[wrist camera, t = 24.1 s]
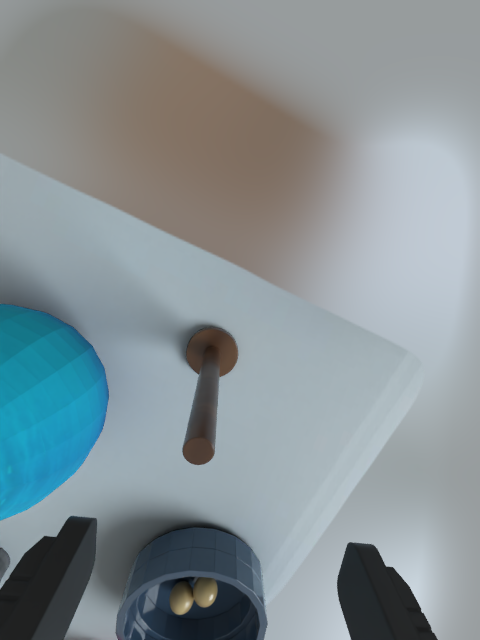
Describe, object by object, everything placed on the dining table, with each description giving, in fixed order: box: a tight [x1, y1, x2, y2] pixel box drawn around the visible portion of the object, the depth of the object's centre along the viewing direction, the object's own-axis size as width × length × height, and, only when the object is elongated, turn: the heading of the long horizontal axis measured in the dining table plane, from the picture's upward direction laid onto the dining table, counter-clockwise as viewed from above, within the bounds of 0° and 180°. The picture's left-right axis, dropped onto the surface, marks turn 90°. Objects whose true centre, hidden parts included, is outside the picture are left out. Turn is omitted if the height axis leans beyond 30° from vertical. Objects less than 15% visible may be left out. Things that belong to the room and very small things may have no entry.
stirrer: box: [183, 327, 238, 465], centre depth 22 cm, size 5×5×15 cm
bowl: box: [116, 527, 267, 640], centre depth 33 cm, size 16×16×5 cm
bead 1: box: [169, 581, 194, 615], centre depth 33 cm, size 3×3×3 cm
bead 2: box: [193, 577, 218, 607], centre depth 33 cm, size 3×3×3 cm
